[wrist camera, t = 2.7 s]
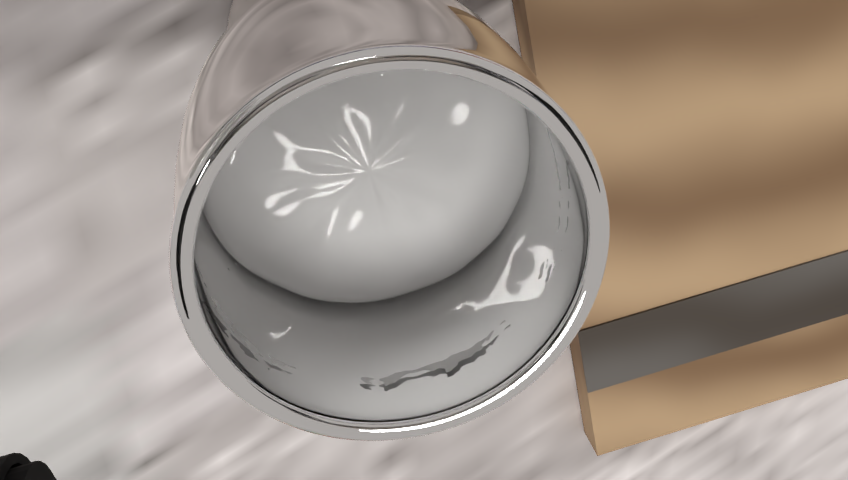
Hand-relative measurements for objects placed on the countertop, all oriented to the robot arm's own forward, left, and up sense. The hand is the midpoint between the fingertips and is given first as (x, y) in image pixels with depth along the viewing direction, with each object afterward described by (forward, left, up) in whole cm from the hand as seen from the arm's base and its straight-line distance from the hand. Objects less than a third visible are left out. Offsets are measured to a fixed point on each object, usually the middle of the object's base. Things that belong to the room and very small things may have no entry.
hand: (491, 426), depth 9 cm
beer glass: (0, 0, -19) cm, 19 cm away
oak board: (+8, +12, -18) cm, 23 cm away
